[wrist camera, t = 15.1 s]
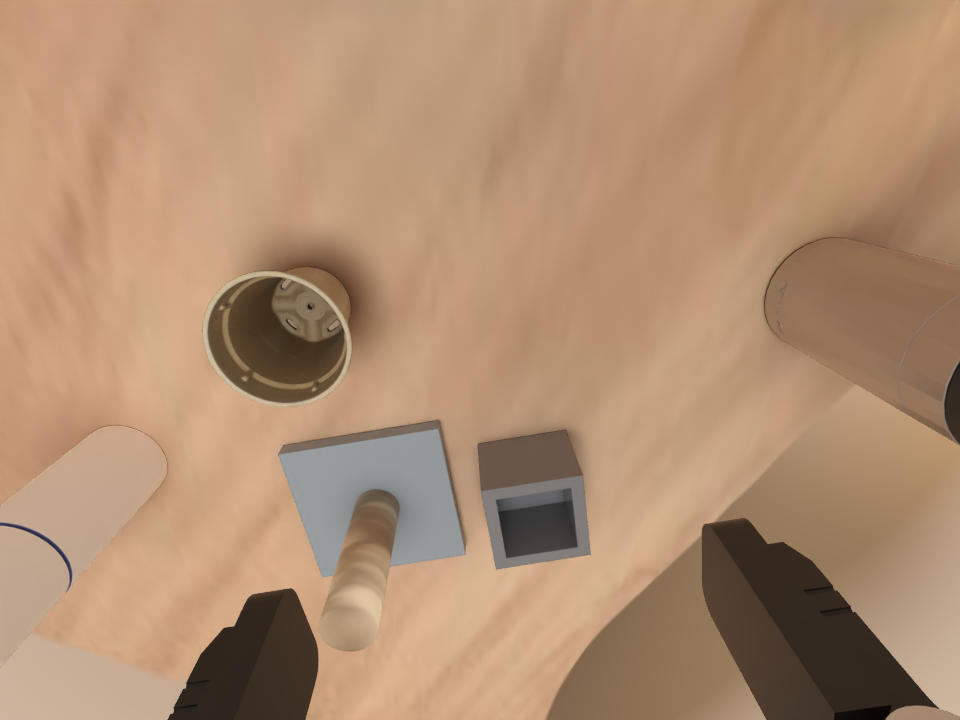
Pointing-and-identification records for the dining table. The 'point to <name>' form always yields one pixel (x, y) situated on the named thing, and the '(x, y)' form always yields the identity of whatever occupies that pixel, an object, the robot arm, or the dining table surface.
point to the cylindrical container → (69, 522)
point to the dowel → (361, 574)
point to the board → (376, 465)
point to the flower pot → (280, 335)
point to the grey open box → (533, 499)
